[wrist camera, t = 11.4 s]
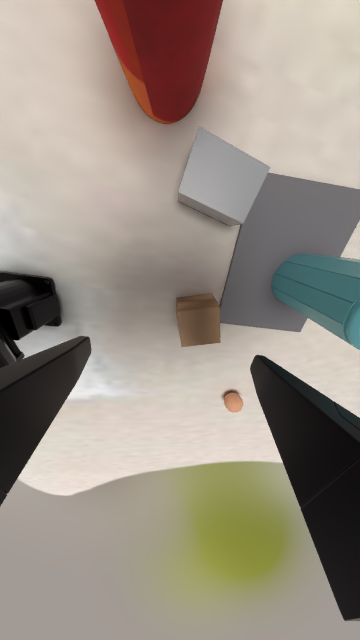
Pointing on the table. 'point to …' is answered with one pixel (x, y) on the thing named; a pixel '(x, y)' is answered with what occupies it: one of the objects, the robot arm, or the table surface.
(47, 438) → the table surface
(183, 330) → the walnut block
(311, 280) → the teal cylinder
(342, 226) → the charcoal mat
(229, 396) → the terracotta ball
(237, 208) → the light grey box
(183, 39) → the coffee cup
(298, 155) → the table surface
